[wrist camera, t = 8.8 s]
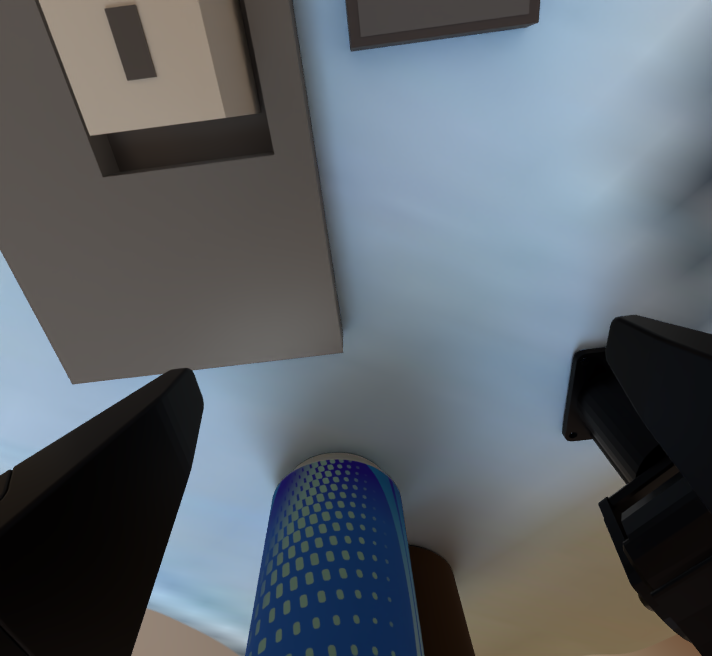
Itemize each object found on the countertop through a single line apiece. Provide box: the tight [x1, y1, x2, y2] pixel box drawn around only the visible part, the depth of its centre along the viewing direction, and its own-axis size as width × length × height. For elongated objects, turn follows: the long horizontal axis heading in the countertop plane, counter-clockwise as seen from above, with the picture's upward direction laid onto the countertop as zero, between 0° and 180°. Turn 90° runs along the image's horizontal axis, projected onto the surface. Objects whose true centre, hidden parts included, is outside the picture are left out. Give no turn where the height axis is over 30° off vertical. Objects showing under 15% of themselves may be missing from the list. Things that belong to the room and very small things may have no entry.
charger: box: [39, 0, 261, 136], centre depth 14 cm, size 4×4×6 cm
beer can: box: [245, 453, 425, 656], centre depth 22 cm, size 8×8×16 cm
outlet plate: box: [0, 0, 343, 384], centre depth 18 cm, size 18×14×2 cm
